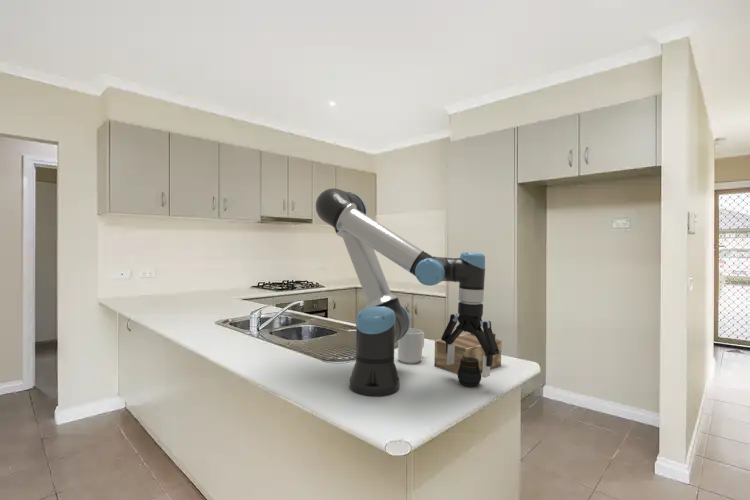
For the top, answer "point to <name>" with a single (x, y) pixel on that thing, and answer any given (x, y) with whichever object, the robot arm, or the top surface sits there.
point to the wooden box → (469, 352)
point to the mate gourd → (469, 371)
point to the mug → (411, 346)
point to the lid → (464, 341)
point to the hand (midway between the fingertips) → (467, 370)
